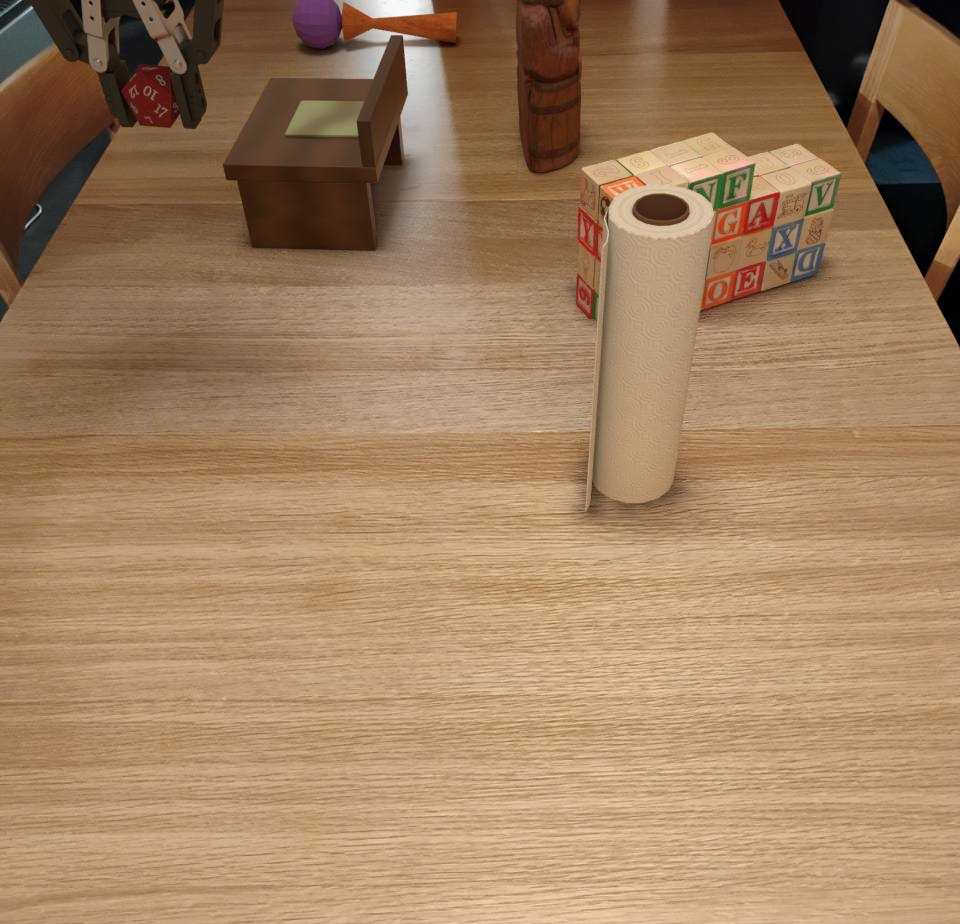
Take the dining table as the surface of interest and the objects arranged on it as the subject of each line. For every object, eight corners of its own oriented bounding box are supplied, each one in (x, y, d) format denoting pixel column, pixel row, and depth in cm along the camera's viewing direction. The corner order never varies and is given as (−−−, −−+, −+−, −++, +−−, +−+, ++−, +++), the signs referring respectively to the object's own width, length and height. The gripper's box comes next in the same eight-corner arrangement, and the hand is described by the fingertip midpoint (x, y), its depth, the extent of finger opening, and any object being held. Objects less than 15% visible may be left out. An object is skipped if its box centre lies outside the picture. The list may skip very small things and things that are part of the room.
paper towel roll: (658, 453, 75) (696, 174, 59) (682, 508, 72) (730, 227, 55) (565, 467, 75) (576, 189, 58) (584, 523, 71) (602, 243, 54)
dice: (200, 114, 72) (186, 53, 69) (173, 143, 69) (157, 81, 66) (152, 109, 72) (136, 50, 69) (124, 138, 70) (105, 77, 67)
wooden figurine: (584, 172, 103) (593, -28, 88) (522, 176, 103) (521, -24, 88) (571, 120, 110) (578, -73, 96) (513, 124, 110) (511, -69, 96)
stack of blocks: (778, 242, 93) (807, 105, 83) (819, 275, 89) (854, 136, 80) (573, 303, 88) (579, 165, 78) (607, 341, 84) (618, 201, 75)
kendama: (456, 17, 119) (287, 8, 118) (455, 66, 124) (293, 58, 124) (457, -12, 122) (292, -21, 121) (456, 37, 127) (298, 29, 126)
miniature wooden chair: (241, 247, 96) (211, 118, 87) (285, 156, 107) (261, 34, 98) (385, 250, 95) (369, 120, 85) (413, 158, 106) (403, 34, 96)
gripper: (216, -202, 59) (273, 102, 72) (-11, -200, 60) (86, 97, 74) (175, -166, 54) (244, 151, 68) (-69, -165, 56) (46, 145, 69)
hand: (161, 122), depth 71 cm, fingers closed on dice, 4 cm apart
